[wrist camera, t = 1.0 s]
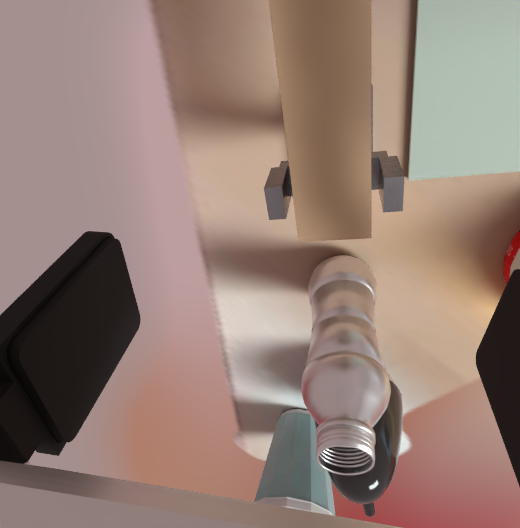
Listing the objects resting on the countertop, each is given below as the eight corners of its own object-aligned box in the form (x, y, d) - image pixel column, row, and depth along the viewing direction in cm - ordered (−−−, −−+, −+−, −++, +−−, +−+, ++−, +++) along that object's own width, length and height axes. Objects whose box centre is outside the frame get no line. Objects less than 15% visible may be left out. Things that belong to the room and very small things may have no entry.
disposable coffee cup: (336, 400, 53) (335, 523, 41) (339, 444, 59) (340, 562, 47) (260, 397, 55) (238, 512, 43) (270, 440, 61) (254, 551, 49)
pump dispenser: (325, 402, 54) (322, 525, 41) (305, 350, 48) (294, 474, 36) (403, 396, 50) (424, 528, 38) (390, 340, 45) (410, 472, 33)
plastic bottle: (297, 266, 41) (271, 447, 25) (352, 234, 38) (364, 419, 22) (332, 305, 43) (329, 493, 27) (387, 279, 40) (420, 475, 24)
